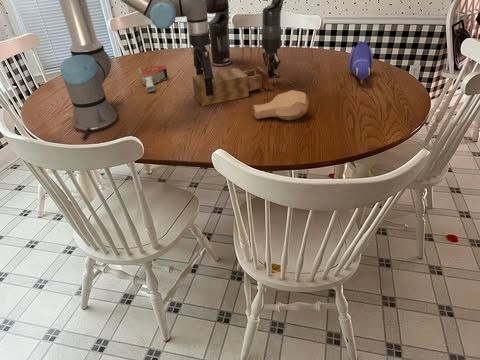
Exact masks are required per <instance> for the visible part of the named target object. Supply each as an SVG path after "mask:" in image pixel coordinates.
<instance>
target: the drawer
mask: <svg viewBox="0 0 480 360" xmlns="http://www.w3.org/2000/svg"><path fill="white" fill-rule="evenodd" d="M242 71H243V72H244V73H245V74H246V75H247V76H248V88H249V92H251V91H256V90H261V89H265V90H269V89H270V84H269V82H270V81H269V80H271V79H272V78H273V79H280V78H281V74H278V73H277V72H276V71H274V76H273V77H269V74H268V70H267V71H265V70H264V69H263V68H261V67H260V66H257V67H256V70H255V68H254V69H249V70H242ZM255 71H256V72H255ZM273 79H272V80H273Z"/></svg>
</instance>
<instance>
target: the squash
mask: <svg viewBox="0 0 480 360" xmlns="http://www.w3.org/2000/svg"><path fill="white" fill-rule="evenodd" d="M309 104H310V101H309V98H308V95H307V93H305V92H303V91H298V90H293V89H291V90H288V91H285V92H283V93H279V94H277V95H276V96H275V97H273V99H272V100H271V101H269V102H266V103H262V104H254V105H253V107H252V110H253V112H254V115H253V116H254V117H255V119H256V120H259V119H263V118H269V117H270V118H271V117H272V118H279V119H280V120H285V121H293V120H298V119H300V118H302V117H303V116H305V115H306V114H307V112H308V108H309Z"/></svg>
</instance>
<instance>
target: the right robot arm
mask: <svg viewBox="0 0 480 360" xmlns="http://www.w3.org/2000/svg"><path fill="white" fill-rule="evenodd" d="M262 1H265V2H266V1H267V2H268V1H269V0H262ZM284 1H285V0H271V2H270V3H269V5H268V6H265V7H263V9H262V25H261V48H262V49H263V50H264V52H262V54H261V55H262V58H263V62H264V63H263V64H264V66H265V67H266V69H267V71H268V74H269V77H273V76H274V72H275V71H276V70H277V69H278V68H279V65H280V64H281V59H280V58H278V55H279V54H278V50H279V49H280V48H281V45H282V44H281V43H282V42H281V41H282V28H281V27H282V26H281V16H282V15H281V14H282V9H283V5H284ZM229 5H230V4H229V0H206V7H207V15H208V14H209V15H214V16H213V17H212V19H210V21H208V22H209V25H208V29H209V31H208V33H209V37H210V43H209V44H210V54H211V66H215V67H225V66H229V65H230V64H231V63H232V61H231V51H230V35H229V21H230V15H229V14H230V11H229V10H230V8H229V7H230V6H229ZM273 79H274V78H272V80H273Z"/></svg>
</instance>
